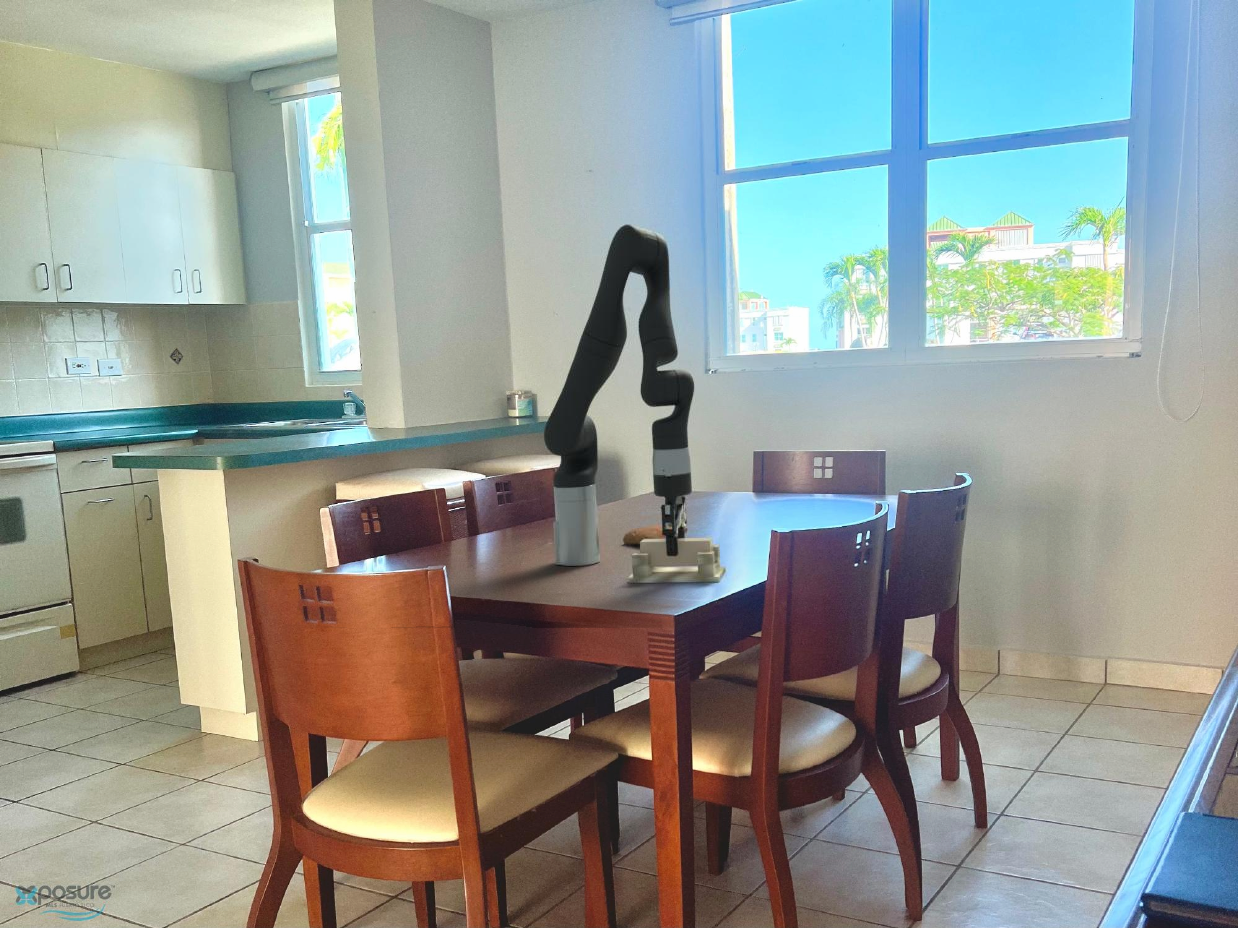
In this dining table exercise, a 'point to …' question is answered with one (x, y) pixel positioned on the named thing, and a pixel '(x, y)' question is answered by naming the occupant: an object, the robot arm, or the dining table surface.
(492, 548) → the dining table surface
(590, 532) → the robot arm
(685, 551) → the clay bar
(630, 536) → the ceramic shard
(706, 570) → the rack
